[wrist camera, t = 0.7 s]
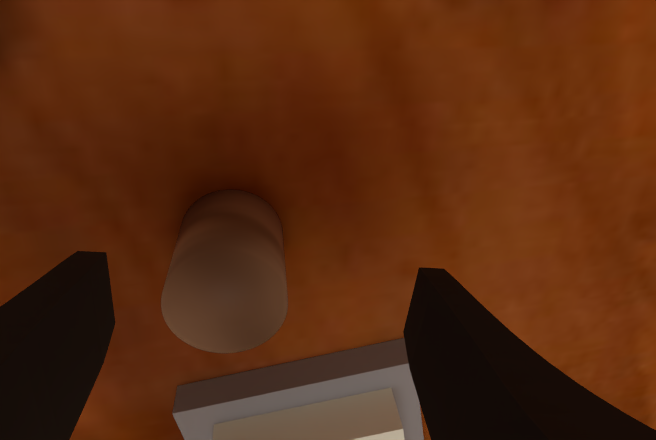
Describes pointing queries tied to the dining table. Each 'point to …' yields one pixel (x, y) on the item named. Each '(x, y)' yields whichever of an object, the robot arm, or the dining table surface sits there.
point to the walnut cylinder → (227, 274)
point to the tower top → (323, 421)
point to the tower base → (300, 388)
